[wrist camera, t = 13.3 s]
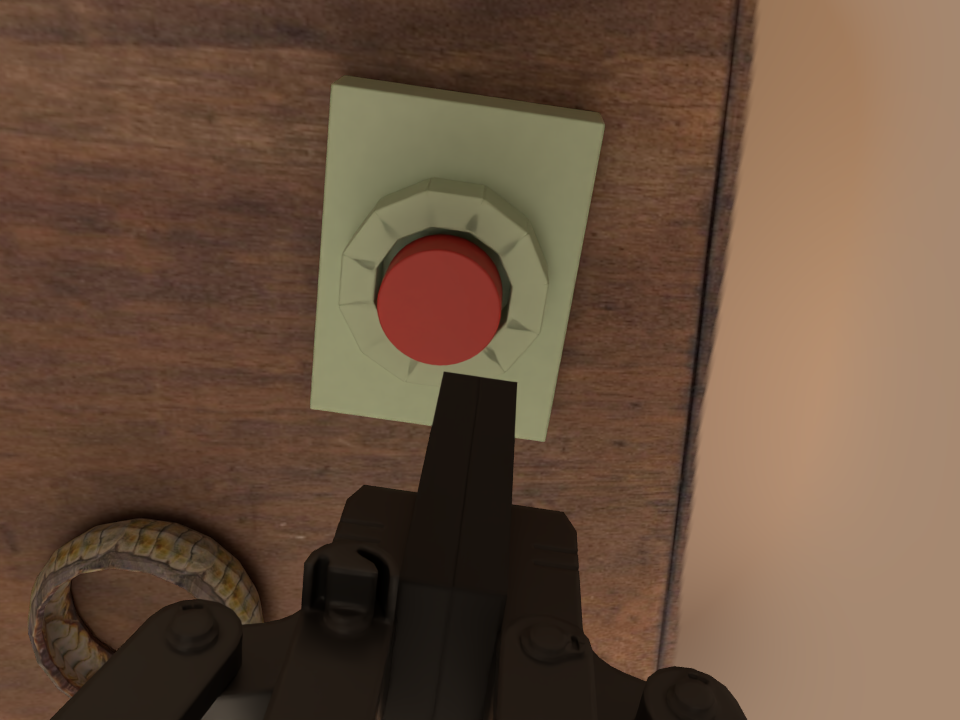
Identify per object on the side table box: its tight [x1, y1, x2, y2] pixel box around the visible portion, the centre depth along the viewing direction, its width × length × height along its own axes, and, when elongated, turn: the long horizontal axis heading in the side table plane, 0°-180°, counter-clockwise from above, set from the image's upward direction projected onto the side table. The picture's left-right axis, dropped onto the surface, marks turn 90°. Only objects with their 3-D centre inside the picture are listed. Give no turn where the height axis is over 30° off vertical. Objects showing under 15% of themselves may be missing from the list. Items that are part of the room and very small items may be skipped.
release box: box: [310, 75, 605, 442], centre depth 32 cm, size 12×9×4 cm
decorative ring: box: [28, 518, 264, 698], centre depth 40 cm, size 10×3×10 cm
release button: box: [377, 234, 502, 366], centre depth 30 cm, size 4×4×2 cm
